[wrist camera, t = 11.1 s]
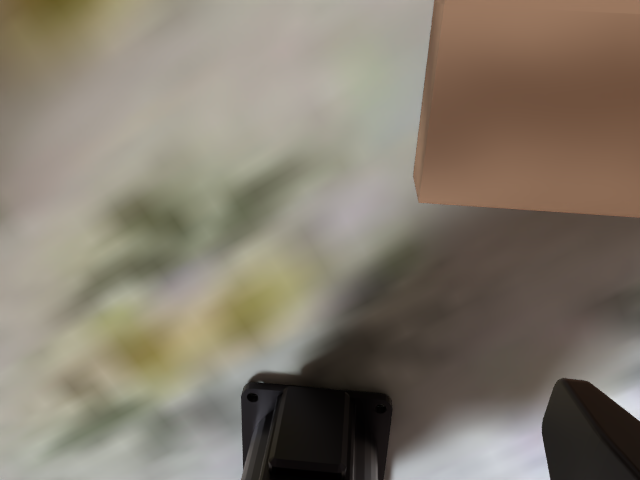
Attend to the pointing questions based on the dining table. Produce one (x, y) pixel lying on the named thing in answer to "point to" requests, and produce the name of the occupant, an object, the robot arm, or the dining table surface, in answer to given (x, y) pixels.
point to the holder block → (532, 106)
